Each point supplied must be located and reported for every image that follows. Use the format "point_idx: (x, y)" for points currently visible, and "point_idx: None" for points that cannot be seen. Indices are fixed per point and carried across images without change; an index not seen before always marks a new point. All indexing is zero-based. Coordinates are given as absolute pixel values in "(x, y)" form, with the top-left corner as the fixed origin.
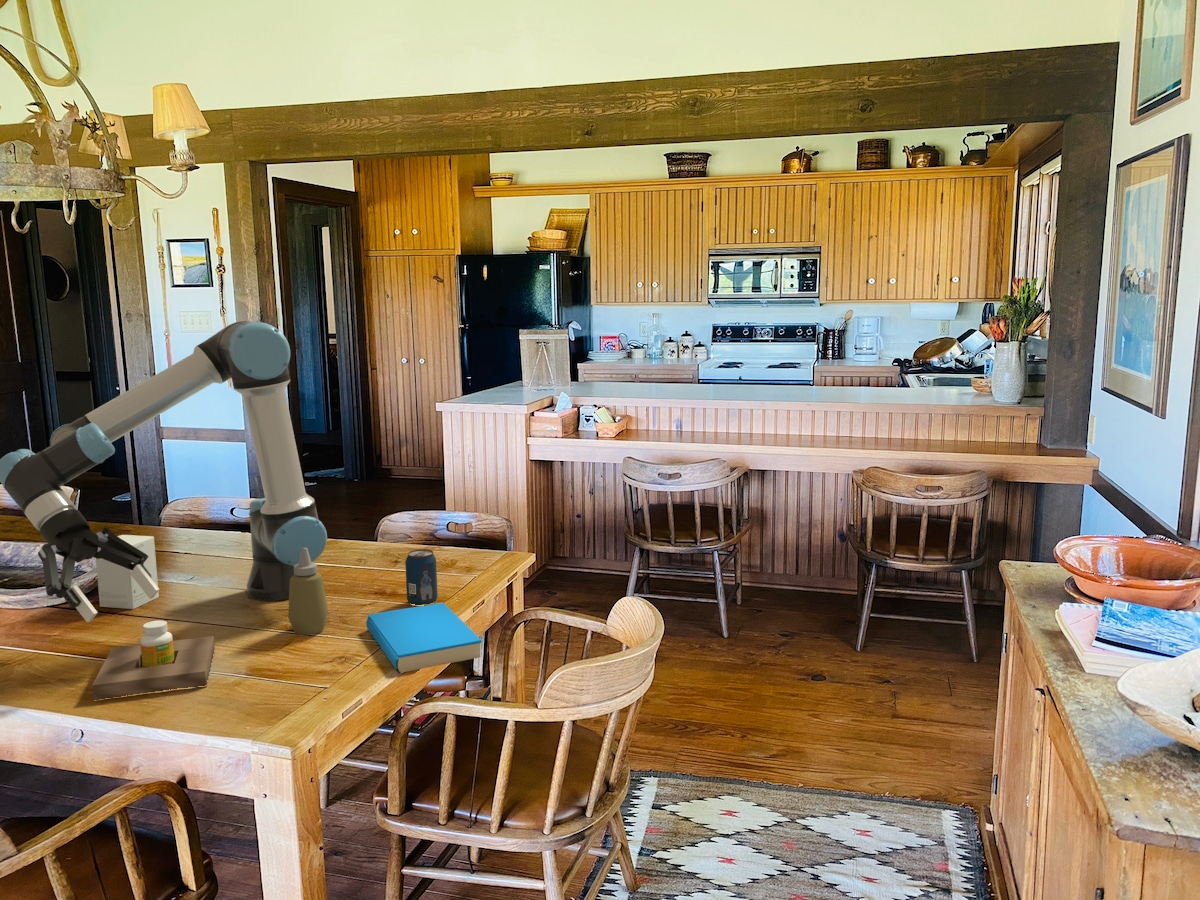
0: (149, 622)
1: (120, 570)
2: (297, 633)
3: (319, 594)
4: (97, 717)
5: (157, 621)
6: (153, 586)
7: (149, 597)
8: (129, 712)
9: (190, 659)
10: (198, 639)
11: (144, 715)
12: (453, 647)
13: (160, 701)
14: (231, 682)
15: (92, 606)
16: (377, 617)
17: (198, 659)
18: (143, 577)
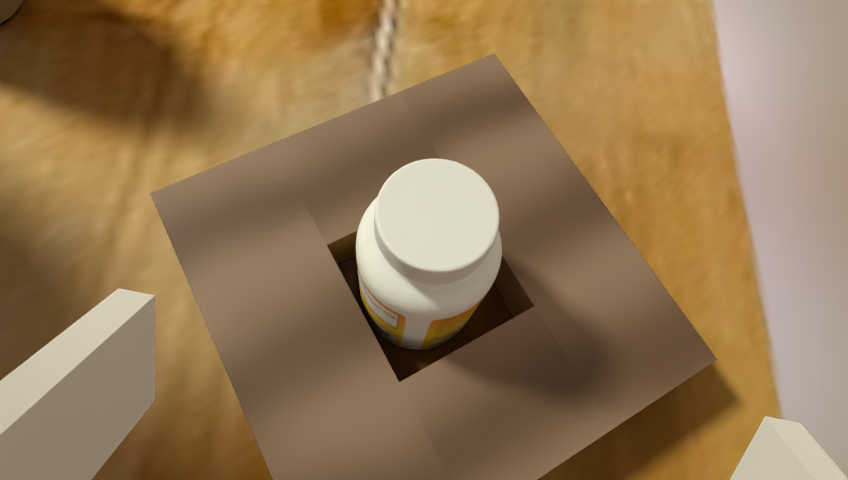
0: (421, 258)
1: None
2: (13, 10)
3: None
4: (755, 274)
5: (397, 223)
6: (121, 322)
7: (151, 399)
8: (693, 203)
9: (410, 148)
10: (193, 234)
11: (691, 151)
12: None
13: (604, 161)
14: (436, 42)
15: (815, 470)
16: None
17: (405, 121)
18: (13, 454)
